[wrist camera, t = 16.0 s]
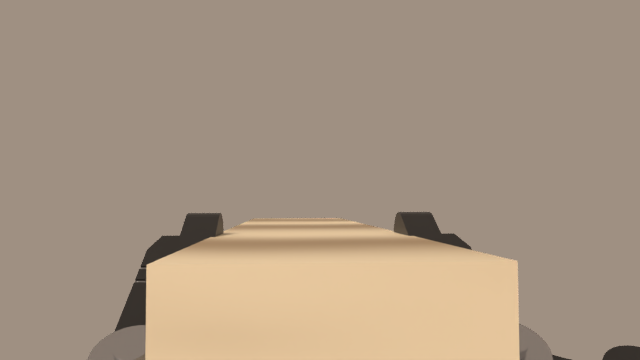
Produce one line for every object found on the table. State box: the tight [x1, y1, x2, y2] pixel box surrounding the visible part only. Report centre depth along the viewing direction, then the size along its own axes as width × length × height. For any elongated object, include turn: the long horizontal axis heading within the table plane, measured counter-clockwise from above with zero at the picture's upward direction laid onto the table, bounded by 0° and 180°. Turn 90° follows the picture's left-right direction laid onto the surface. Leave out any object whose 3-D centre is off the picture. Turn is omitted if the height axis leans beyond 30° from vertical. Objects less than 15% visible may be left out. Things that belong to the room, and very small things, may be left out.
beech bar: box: [145, 218, 520, 360], centre depth 15 cm, size 19×4×4 cm, turn 4°
